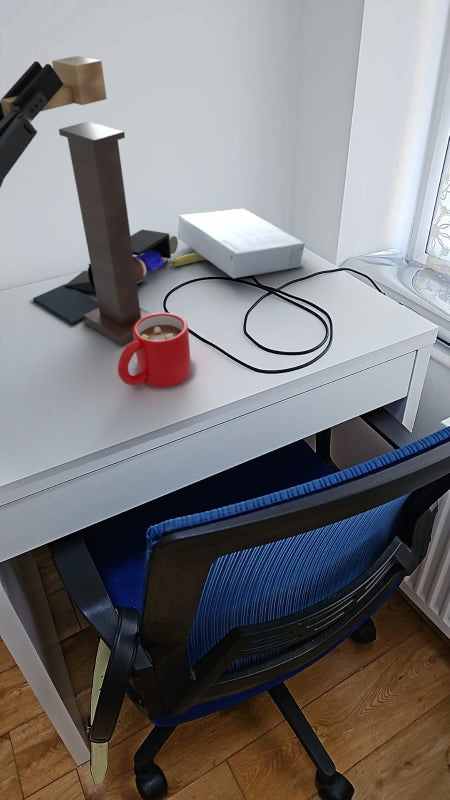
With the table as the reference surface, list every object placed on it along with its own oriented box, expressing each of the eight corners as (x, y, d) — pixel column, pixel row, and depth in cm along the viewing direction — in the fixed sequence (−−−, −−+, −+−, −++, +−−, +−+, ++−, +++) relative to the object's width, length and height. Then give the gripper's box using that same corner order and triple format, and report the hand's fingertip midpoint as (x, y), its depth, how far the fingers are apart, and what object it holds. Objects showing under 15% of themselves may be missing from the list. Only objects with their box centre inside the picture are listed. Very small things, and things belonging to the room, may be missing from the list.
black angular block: (64, 287, 107) (60, 264, 104) (85, 271, 112) (82, 248, 109) (124, 299, 103) (121, 275, 100) (143, 282, 109) (141, 259, 106)
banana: (206, 247, 116) (215, 256, 113) (206, 255, 117) (215, 264, 114) (168, 256, 113) (176, 265, 110) (168, 264, 114) (176, 273, 111)
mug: (106, 385, 85) (98, 341, 80) (165, 349, 92) (161, 306, 87) (143, 408, 81) (136, 363, 76) (201, 368, 88) (199, 324, 83)
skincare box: (240, 233, 126) (176, 238, 118) (244, 208, 123) (178, 211, 115) (300, 270, 112) (232, 279, 104) (306, 243, 109) (236, 250, 101)
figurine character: (149, 260, 118) (110, 283, 107) (149, 223, 114) (108, 242, 103) (179, 266, 116) (142, 290, 105) (179, 228, 112) (141, 249, 101)
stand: (122, 345, 93) (89, 144, 73) (84, 323, 98) (44, 130, 78) (159, 325, 97) (137, 130, 77) (121, 304, 103) (92, 117, 83)
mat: (33, 301, 104) (32, 298, 104) (66, 286, 108) (65, 283, 108) (72, 325, 98) (72, 322, 98) (105, 308, 102) (105, 305, 101)
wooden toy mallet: (19, 121, 68) (9, 79, 65) (-4, 113, 70) (-14, 73, 68) (107, 99, 75) (101, 60, 72) (83, 93, 78) (77, 55, 75)
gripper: (-82, 222, 74) (34, 90, 78) (-23, 257, 66) (103, 108, 70) (-133, 179, 68) (-4, 37, 71) (-75, 212, 60) (67, 51, 63)
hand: (49, 73), depth 71 cm, fingers closed on wooden toy mallet, 2 cm apart
